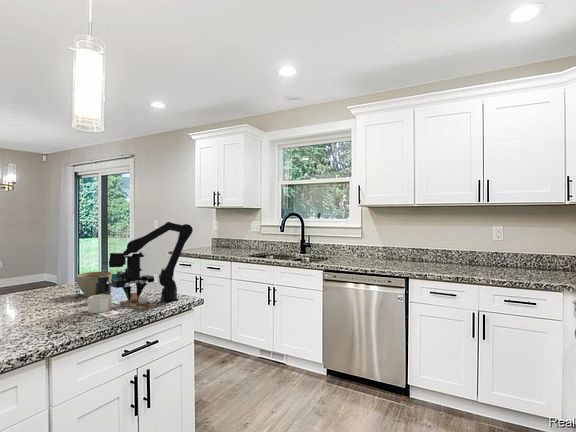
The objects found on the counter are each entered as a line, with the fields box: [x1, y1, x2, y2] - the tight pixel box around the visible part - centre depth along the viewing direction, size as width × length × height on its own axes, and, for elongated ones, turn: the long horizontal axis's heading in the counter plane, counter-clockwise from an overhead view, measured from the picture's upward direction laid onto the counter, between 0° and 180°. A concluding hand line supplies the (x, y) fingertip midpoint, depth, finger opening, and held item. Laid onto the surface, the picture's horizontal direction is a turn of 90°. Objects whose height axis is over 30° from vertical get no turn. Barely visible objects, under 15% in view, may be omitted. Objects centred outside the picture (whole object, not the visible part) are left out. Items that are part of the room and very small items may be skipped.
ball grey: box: [138, 295, 149, 305], centre depth 152 cm, size 4×4×4 cm
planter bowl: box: [76, 271, 113, 298], centre depth 173 cm, size 16×16×11 cm
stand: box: [119, 298, 158, 311], centre depth 154 cm, size 8×18×2 cm, turn 53°
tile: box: [98, 310, 120, 318], centre depth 140 cm, size 6×6×1 cm
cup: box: [87, 294, 112, 314], centre depth 145 cm, size 8×8×6 cm
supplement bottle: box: [95, 276, 112, 296], centre depth 161 cm, size 7×7×12 cm
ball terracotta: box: [130, 292, 139, 301], centre depth 157 cm, size 4×4×4 cm
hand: (133, 299), depth 157 cm, fingers closed on ball terracotta, 4 cm apart
